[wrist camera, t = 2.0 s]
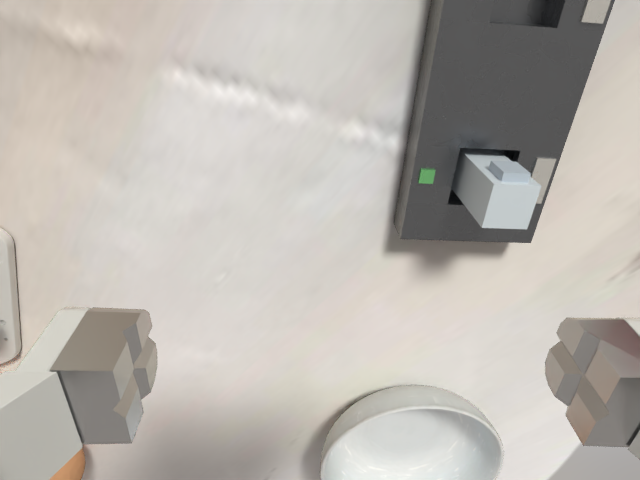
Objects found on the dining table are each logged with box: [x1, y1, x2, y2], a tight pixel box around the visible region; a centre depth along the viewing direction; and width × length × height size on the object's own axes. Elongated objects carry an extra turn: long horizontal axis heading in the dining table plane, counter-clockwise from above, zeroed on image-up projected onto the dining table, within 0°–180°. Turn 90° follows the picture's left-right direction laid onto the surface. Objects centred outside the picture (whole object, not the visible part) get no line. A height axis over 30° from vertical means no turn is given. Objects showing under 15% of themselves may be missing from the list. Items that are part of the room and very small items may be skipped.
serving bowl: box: [320, 385, 504, 480], centre depth 54 cm, size 21×21×7 cm
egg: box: [49, 449, 85, 480], centre depth 51 cm, size 7×7×8 cm
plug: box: [451, 148, 541, 229], centre depth 36 cm, size 4×4×8 cm
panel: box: [394, 0, 615, 243], centre depth 35 cm, size 26×12×3 cm, turn 176°
